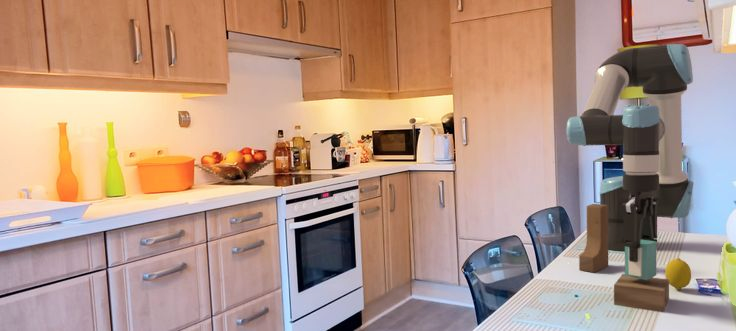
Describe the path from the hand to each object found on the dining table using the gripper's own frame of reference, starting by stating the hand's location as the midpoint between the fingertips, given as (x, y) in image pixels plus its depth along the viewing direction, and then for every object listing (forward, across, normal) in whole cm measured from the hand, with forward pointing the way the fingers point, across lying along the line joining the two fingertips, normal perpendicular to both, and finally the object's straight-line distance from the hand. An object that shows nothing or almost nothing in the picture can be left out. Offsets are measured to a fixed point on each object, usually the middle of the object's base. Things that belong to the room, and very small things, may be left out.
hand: (640, 272), depth 126 cm
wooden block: (+7, -19, -21) cm, 29 cm away
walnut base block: (+7, 0, 0) cm, 7 cm away
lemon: (+7, -14, +3) cm, 16 cm away
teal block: (+1, 0, 0) cm, 1 cm away
